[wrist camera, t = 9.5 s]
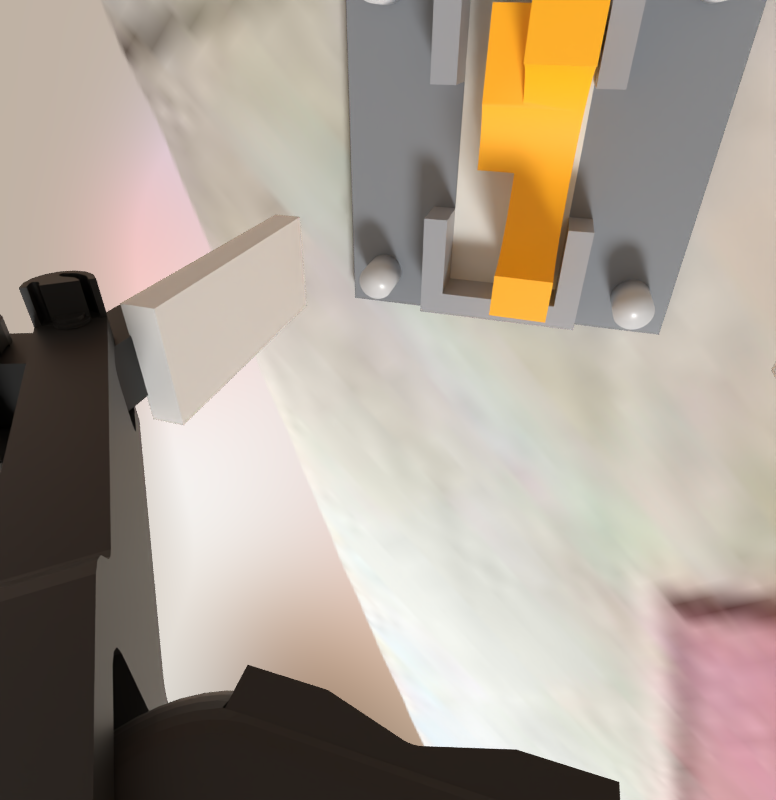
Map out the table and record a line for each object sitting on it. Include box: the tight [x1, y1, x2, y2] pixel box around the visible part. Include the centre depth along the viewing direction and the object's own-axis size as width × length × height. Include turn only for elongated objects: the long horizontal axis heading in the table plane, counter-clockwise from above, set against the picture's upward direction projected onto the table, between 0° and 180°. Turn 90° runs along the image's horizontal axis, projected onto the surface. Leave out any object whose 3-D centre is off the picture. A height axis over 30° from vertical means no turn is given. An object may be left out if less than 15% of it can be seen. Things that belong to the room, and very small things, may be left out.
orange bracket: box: [477, 0, 611, 323], centre depth 24 cm, size 12×4×6 cm, turn 179°
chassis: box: [346, 0, 767, 335], centre depth 27 cm, size 18×18×4 cm
